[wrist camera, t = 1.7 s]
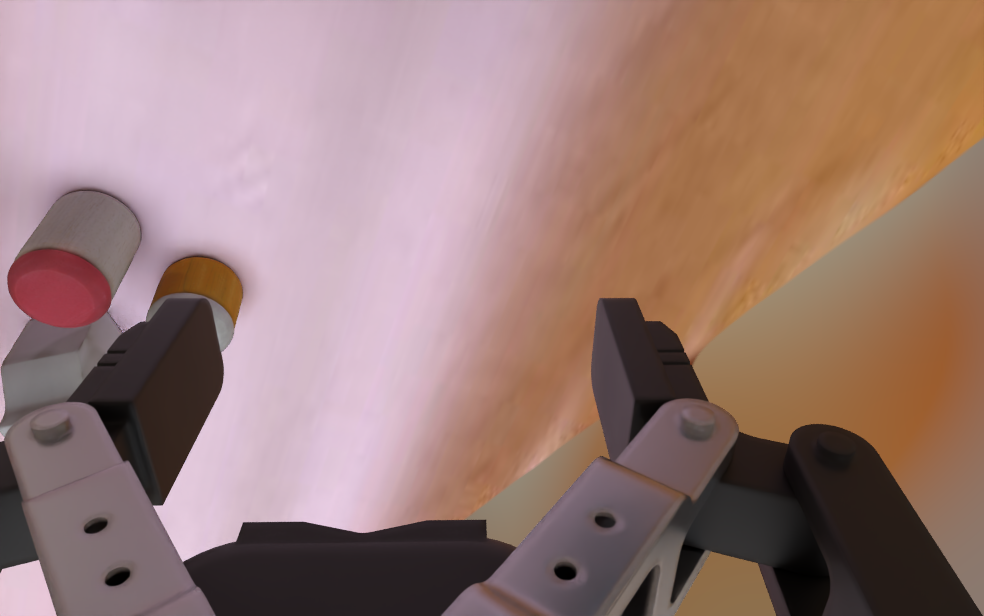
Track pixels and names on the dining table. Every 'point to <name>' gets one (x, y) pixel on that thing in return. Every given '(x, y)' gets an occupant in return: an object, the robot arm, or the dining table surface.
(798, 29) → the dining table surface
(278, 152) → the dining table surface
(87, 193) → the toy food
